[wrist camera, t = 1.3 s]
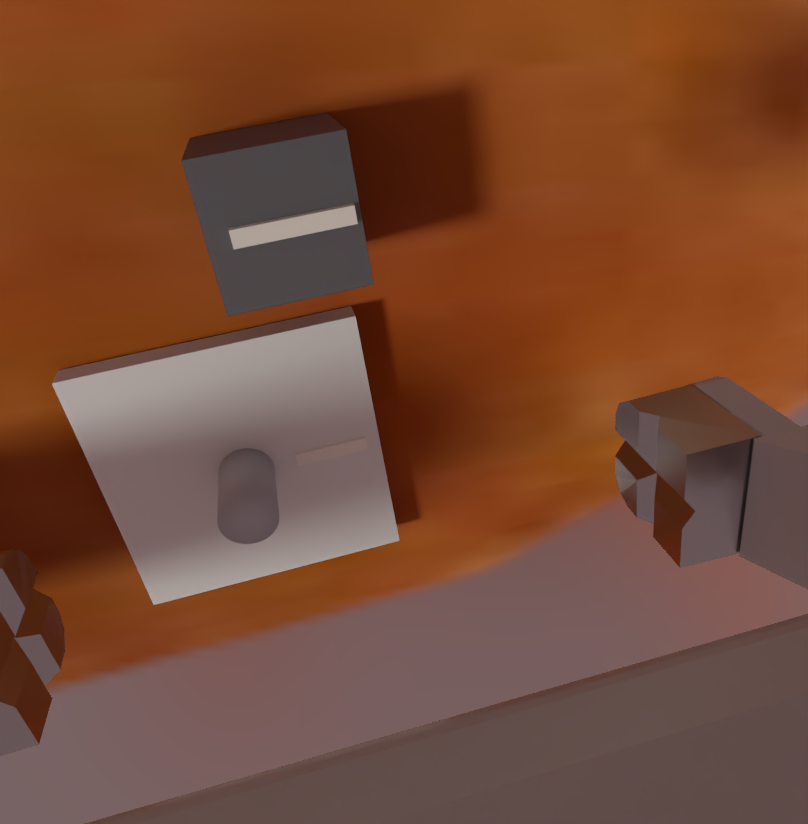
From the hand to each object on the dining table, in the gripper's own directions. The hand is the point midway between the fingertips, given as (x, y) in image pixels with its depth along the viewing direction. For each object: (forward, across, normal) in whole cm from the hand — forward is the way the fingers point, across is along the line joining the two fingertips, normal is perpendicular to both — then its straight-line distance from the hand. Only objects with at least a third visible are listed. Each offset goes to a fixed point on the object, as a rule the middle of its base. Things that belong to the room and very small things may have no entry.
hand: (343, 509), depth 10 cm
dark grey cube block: (+20, 0, -1) cm, 20 cm away
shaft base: (+20, +4, +10) cm, 23 cm away
